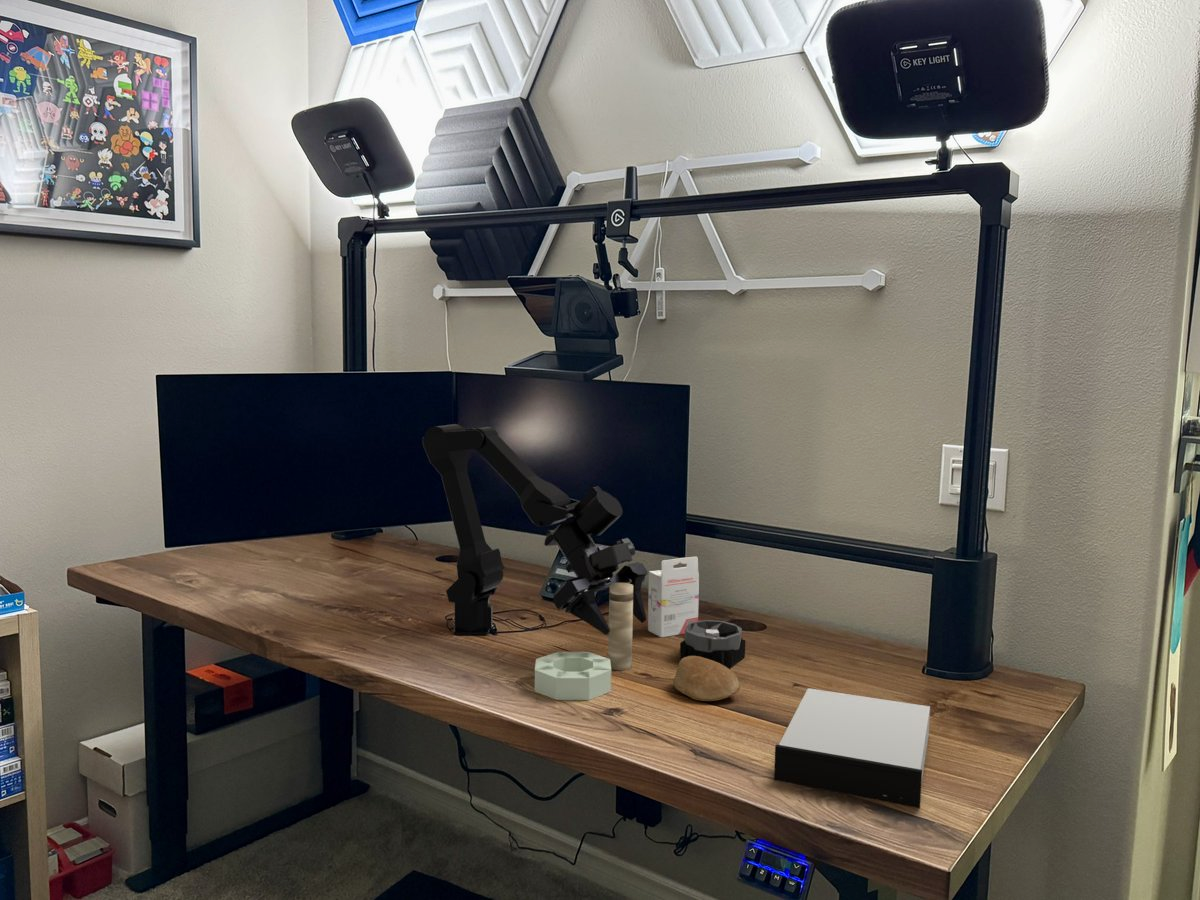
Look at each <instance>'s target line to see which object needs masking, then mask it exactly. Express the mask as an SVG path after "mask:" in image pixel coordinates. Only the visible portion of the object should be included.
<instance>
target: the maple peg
mask: <svg viewBox="0 0 1200 900" xmlns="http://www.w3.org/2000/svg"><path fill="white" fill-rule="evenodd" d="M608 590H609V593H608V594H609V595H608V600H609V603H608V605H609V606H608V627H609V629H610V632H609V633H608V645H607V646H608V647H607V648H608V650H607V651H608V652H607V653H608V654H607V658H608V659H610V663H611V670H614V671H615V670H616V671H627V670H630V669H632V665H633V664H632V663H633V662H632V660H633V658H632V657H633V617H634V615H633V585H632V584H629V583H613V584H610V587H609V589H608Z"/></svg>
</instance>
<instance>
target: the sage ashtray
mask: <svg viewBox="0 0 1200 900" xmlns="http://www.w3.org/2000/svg"><path fill="white" fill-rule="evenodd" d="M534 692H535V693H537V694H538V693H539V694H541V695H543V696H546V697H548V698H551V699H553V700H556V701H591V700H593V699H595V698H598V697H600V696H603V695H605V694H609V693H610V692H611V693H612V669H611V663H610V659H608V657H604V656H602V655H599V654H596V653H593V652H590V651H556V652H553V653H550V654H547V655H544V656H541V657H538V658H536V659H535V665H534Z"/></svg>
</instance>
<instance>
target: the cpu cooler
mask: <svg viewBox="0 0 1200 900" xmlns="http://www.w3.org/2000/svg"><path fill="white" fill-rule="evenodd" d="M742 632H743V628H742V627H741V626H739V625H737V624H736V623H732V622H727V621H724V620H710V619H705V620H698V621H697V622H690V623H689V624H688V625H687V626H686V629H685V634H684V639H683V640H682V641H680V643H679V644H680V646H679V661H681V659H682V658H684V657H688V656H699V657H703V658H706V659H709V660H713V661H715V662H718V663H720V664H722V665H724V666H726V667H727V668H729V669H730V670H731V669H732V668H733V667H735V665H737V664H738V663H740V662H741V661H742V660H743V659H744V658H745V657H746V640H745V639H743V637H742Z"/></svg>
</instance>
